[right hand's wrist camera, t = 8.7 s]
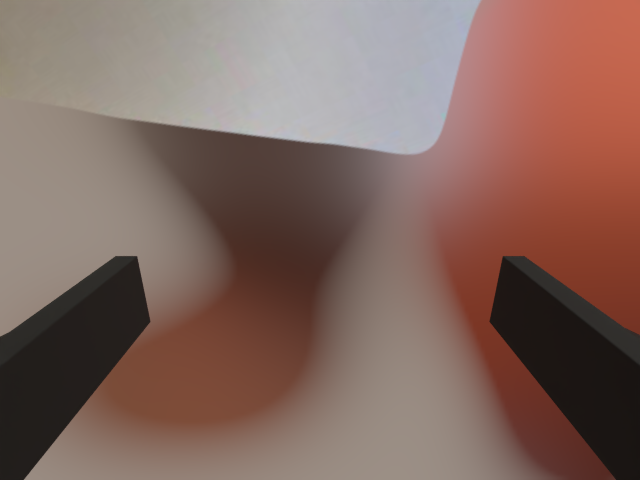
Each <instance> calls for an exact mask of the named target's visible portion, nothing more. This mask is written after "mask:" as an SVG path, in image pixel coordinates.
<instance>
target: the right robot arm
mask: <svg viewBox="0 0 640 480" xmlns="http://www.w3.org/2000/svg"><path fill="white" fill-rule="evenodd" d="M149 323H150V317H149V312H148V308H147V303H146V298H145V293H144V288H143V283H142V278H141V273H140V268H139V263H138V259H137V256H115V257H114V258H113V259H111V260H110V261H108V262H107V263H106V264H104V265H103V266H101V267H100V268H99V269H97V270H96V271H94V272H93V273H92V274H90V275H89V276H87V277H86V278H85V279H83V280H82V281H80V282H79V283H78V284H76V285H75V286H73V287H72V288H71V289H69V290H68V291H66V292H65V293H64V294H62V295H61V296H59V297H58V298H57V299H55V300H54V301H52V302H51V303H50V304H48V305H47V306H45V307H44V308H43V309H41V310H40V311H38V312H37V313H36V314H34V315H33V316H31V317H30V318H29V319H27V320H26V321H24V322H23V323H22V324H20V325H19V326H17V327H16V328H15V329H13V330H12V331H10V332H9V333H7V334H5V335H3V336H1V337H0V480H24V479H25V477H26V476H27V475H28V474H29V473H30V471H31V470H32V469H33V467H34V466H35V465H36V464H37V462H38V461H39V460H40V459H41V458H42V456H43V455H44V454H45V453H46V451H47V450H48V449H49V448H50V446H51V445H52V444H53V443H54V441H55V440H56V439H57V437H58V436H59V435H60V434H61V433H62V431H63V430H64V429H65V428H66V426H67V425H68V424H69V423H70V421H71V420H72V419H73V418H74V416H75V415H76V414H77V413H78V411H79V410H80V409H81V408H82V406H83V405H84V404H85V403H86V401H87V400H88V399H89V398H90V396H91V395H92V394H93V393H94V391H95V390H96V389H97V388H98V386H99V385H100V384H101V383H102V381H103V380H104V379H105V378H106V376H107V375H108V374H109V373H110V371H111V370H112V369H113V368H114V367H115V365H116V364H117V363H118V361H119V360H120V359H121V358H122V357H123V355H124V354H125V353H126V352H127V350H128V349H129V348H130V347H131V345H132V344H133V343H134V342H135V340H136V339H137V338H138V337H139V335H140V334H141V333H142V332H143V330H144V329H145V328H146V327H147V325H148V324H149ZM490 323H491V324H492V325H493V327H494V328H495V329H496V330H497V332H498V333H499V334H500V335H501V337H502V338H503V339H504V340H505V342H506V343H507V344H508V345H509V347H510V348H511V349H512V350H513V352H514V353H515V354H516V355H517V357H518V358H519V359H520V360H521V362H522V363H523V364H524V365H525V366H526V368H527V369H528V370H529V371H530V373H531V374H532V375H533V376H534V378H535V379H536V380H537V381H538V383H539V384H540V385H541V386H542V388H543V389H544V390H545V391H546V393H547V394H548V395H549V396H550V398H551V399H552V400H553V401H554V403H555V404H556V405H557V406H558V408H559V409H560V410H561V411H562V413H563V414H564V415H565V416H566V418H567V419H568V420H569V421H570V423H571V424H572V425H573V426H574V427H575V429H576V430H577V431H578V433H579V434H580V435H581V436H582V438H583V439H584V440H585V441H586V443H587V444H588V445H589V446H590V448H591V449H592V450H593V451H594V453H595V454H596V455H597V456H598V458H599V459H600V460H601V461H602V462H603V464H604V465H605V466H606V467H607V469H608V470H609V471H610V473H611V474H612V475H613V476H614V477H615V479H616V480H640V335H639V334H636V333H634V332H632V331H630V330H628V329H626V328H624V327H623V326H621V325H620V324H618V323H617V322H616V321H614V320H613V319H611V318H610V317H609V316H607V315H606V314H604V313H603V312H602V311H600V310H599V309H597V308H596V307H595V306H593V305H592V304H590V303H589V302H588V301H586V300H585V299H583V298H582V297H581V296H579V295H578V294H576V293H575V292H574V291H572V290H571V289H569V288H568V287H567V286H565V285H564V284H562V283H561V282H560V281H558V280H557V279H555V278H554V277H553V276H551V275H550V274H548V273H547V272H546V271H544V270H543V269H541V268H540V267H539V266H537V265H536V264H534V263H533V262H532V261H530V260H529V259H527V258H526V257H525V256H503V258H502V263H501V268H500V273H499V278H498V283H497V288H496V293H495V298H494V303H493V308H492V313H491V317H490Z"/></svg>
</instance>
